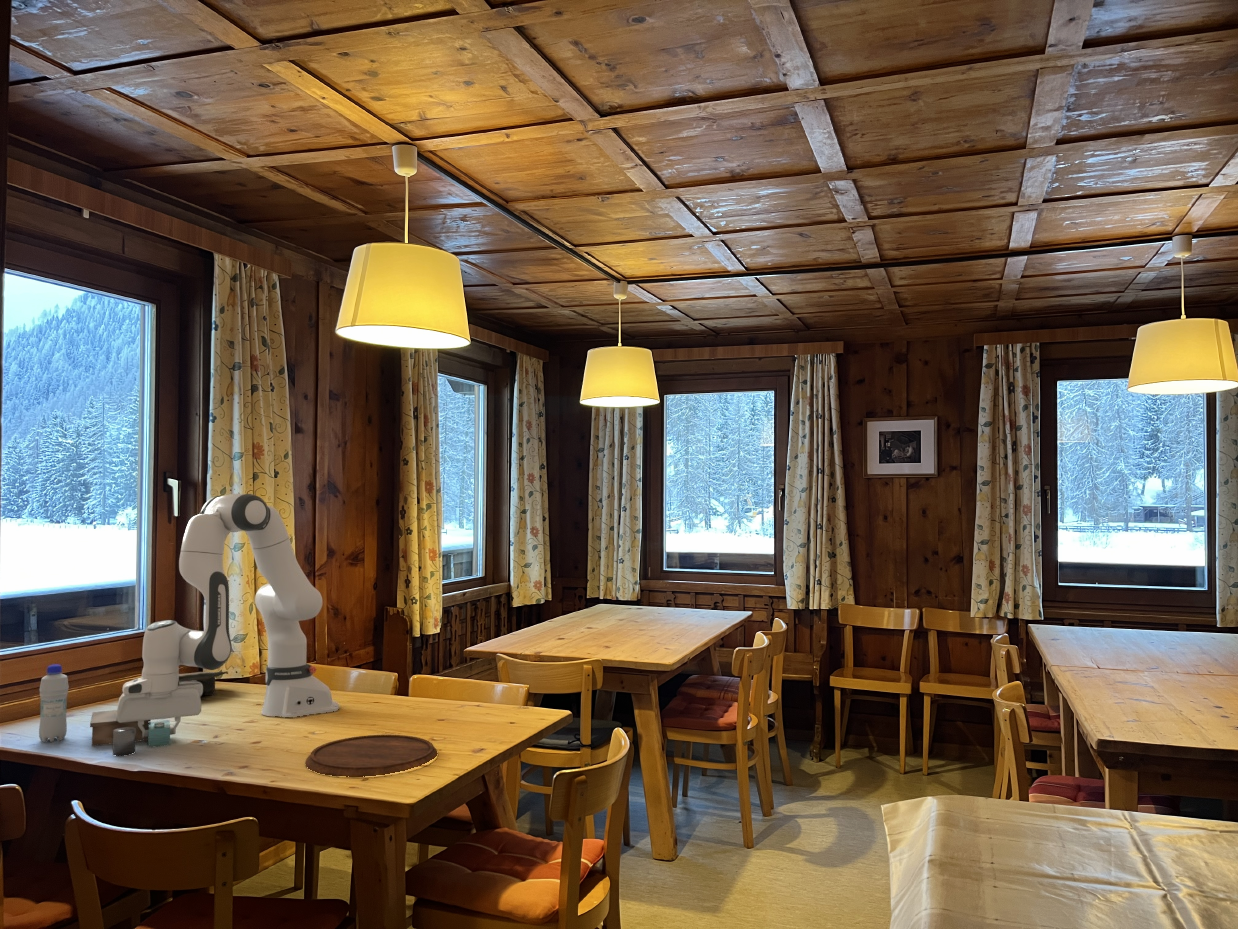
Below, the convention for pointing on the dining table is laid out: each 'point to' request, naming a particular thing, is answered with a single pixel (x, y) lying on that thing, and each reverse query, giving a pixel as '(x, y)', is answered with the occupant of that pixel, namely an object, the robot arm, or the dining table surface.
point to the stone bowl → (203, 680)
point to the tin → (124, 741)
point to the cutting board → (370, 755)
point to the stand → (111, 727)
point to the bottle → (53, 704)
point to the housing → (159, 733)
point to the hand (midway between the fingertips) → (158, 735)
